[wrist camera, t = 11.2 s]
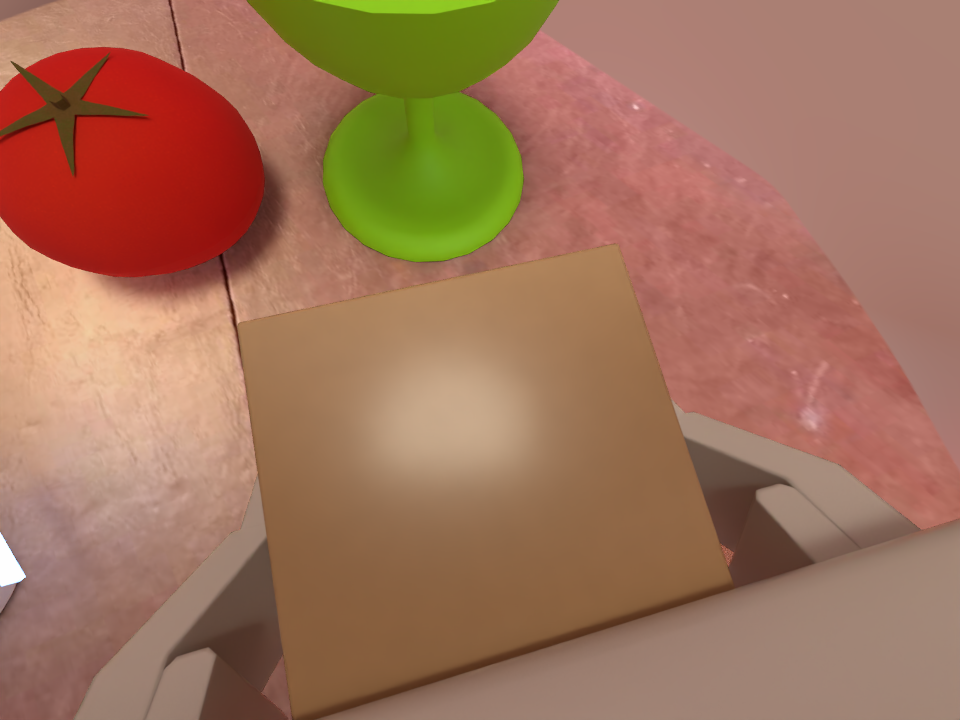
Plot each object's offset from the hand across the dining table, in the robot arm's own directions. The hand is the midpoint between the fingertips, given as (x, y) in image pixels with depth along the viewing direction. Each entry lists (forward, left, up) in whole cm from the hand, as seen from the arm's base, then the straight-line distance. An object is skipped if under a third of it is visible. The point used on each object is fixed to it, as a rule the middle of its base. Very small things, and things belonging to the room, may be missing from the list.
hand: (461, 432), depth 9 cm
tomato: (-25, -6, -21) cm, 33 cm away
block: (+1, 0, -5) cm, 5 cm away
